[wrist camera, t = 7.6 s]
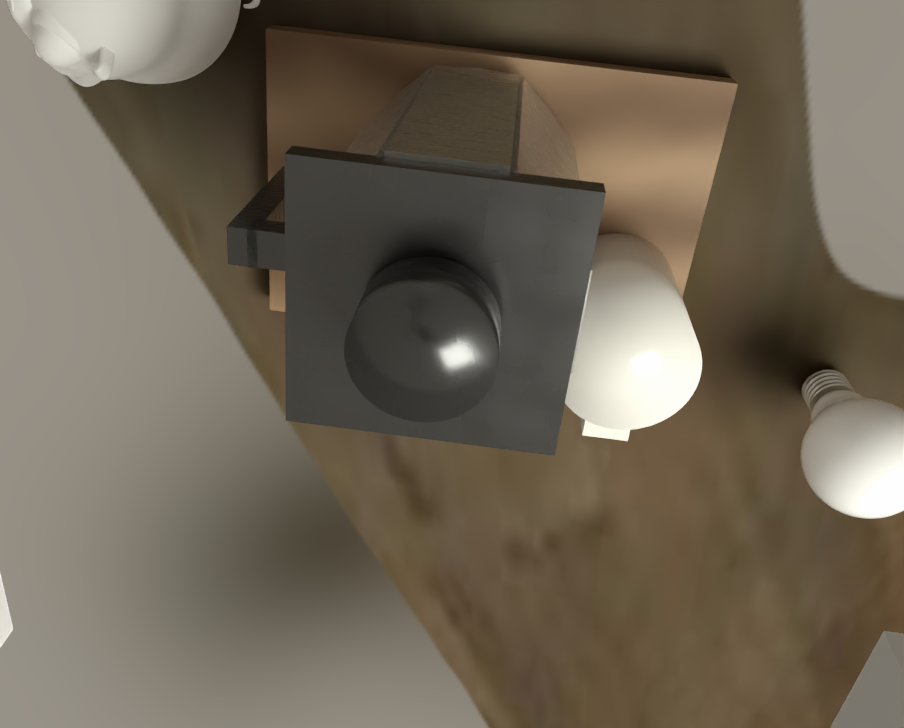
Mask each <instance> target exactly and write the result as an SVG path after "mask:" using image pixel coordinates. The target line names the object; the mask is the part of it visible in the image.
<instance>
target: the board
mask: <svg viewBox="0 0 904 728" xmlns="http://www.w3.org/2000/svg"><path fill="white" fill-rule="evenodd" d="M435 65H442V66H450V67H453V66H464V65H466V66H481V67H486V68H492V69H495V70H498V71H501V72H504V73H510V74H518V75H519V80H521V79H522V78H525V79H526V81H527V82H528V83H529V85H530V86H531V87H532V89H533V90H534V91H535V92H536V93H537V94H538V95H539V96H540V97H541V98H542V99H543V100H544V102H545V103H546V104H547V105H548V106H549V108H550V109H551V111H552V112H553V114H554V116H555V117H556V119H557V121H558V123H559V125H560V126H561V128H562V129H563V131H564V132H565V133H566V135H567V136H568V137H569V139H570V140H571V141H572V143H573V145H574V149H575V156H576V163H577V169H578V176H579V180H580V181H588V182H597V183H604V187H605V191H606V195H605V200H604V205H603V210H602V215H601V220H600V225H599V231H598V236H599V235H604V234H614V233H618V234H628V235H633V236H636V237H639V238H641V239H644V240H646V241H648V242H649V243H651V244H652V245H654V246H655V247H656V248H657V249H658V250H660V251H661V253H662V254H663V255H664V256H665V258H666V259H667V261H668V262H669V264H670V267H671V269H672V272H673V274H674V277H675V280H676V283H677V285H678V288H679V291H680V294H681V296H682V297H683V293H684V289H685V285H686V282H687V278H688V274H689V270H690V266H691V262H692V259H693V255H694V251H695V247H696V243H697V239H698V236H699V232H700V228H701V224H702V220H703V216H704V213H705V209H706V205H707V201H708V197H709V193H710V190H711V186H712V182H713V178H714V174H715V170H716V167H717V163H718V159H719V155H720V151H721V147H722V144H723V140H724V136H725V132H726V128H727V124H728V121H729V117H730V113H731V109H732V105H733V101H734V98H735V94H736V90H737V86H738V83H737V82H735V81H734V80H733V79H732V78H726V77H717V76H709V75H700V74H692V73H683V72H675V71H666V70H658V69H649V68H641V67H632V66H623V65H615V64H606V63H598V62H589V61H581V60H572V59H564V58H555V57H547V56H538V55H529V54H521V53H512V52H504V51H495V50H487V49H478V48H470V47H461V46H453V45H444V44H435V43H427V42H418V41H410V40H401V39H393V38H384V37H376V36H367V35H359V34H350V33H341V32H333V31H324V30H316V29H307V28H299V27H290V26H282V25H272V26H270V27H268V28H266V88H267V151H268V182H269V181H270V180H271V179H272V177H273V176H274V175H275V174H276V173H277V172H278V171H279V170H280V169H281V168H282V167H283V166H284V165H285V160H284V154H285V153H286V152H287V151H288V150H289V149H290V148H291V147H292V146H300V147H308V148H316V149H324V150H333V151H341V152H345V151H346V150H347V149H348V147H349V146H350V145H351V143H352V142H353V141H354V139H355V138H356V137H357V135H358V134H359V133H360V131H361V130H362V129H363V127H364V126H365V125H366V123H367V122H368V121H369V119H370V118H371V117H373V116H374V115H375V114H376V113H377V112H378V111H380V110H381V109H382V108H383V107H384V106H385V105H387V104H388V103H389V102H390V101H391V100H392V99H393V98H394V97H395V96H396V95H397V94H398V93H399V92H400V91H401V90H402V89H403V88H405V87H406V86H407V85H409V84H410V83H411V82H413V81H414V80H416V79H417V78H418V77H419V76H420V75H421V74H423V73H424V72H425V71H426V70H427V69H428V68H430V67H432V68H433V69H434V67H435ZM269 278H270V310H276V311H284V312H285V271H279V270H271V269H269Z"/></svg>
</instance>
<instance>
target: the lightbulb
mask: <svg viewBox="0 0 904 728" xmlns="http://www.w3.org/2000/svg"><path fill="white" fill-rule="evenodd" d="M802 396H803V399H804V400H805V402H806V404H807V406H808V408H809V410H810V412H811V424H810V425H809V427H808V429H807V431H806V433H805V435H804V438H803V441H802V445H801V465H802V470H803V473H804V476H805V478H806V480H807V482H808V484H809V486H810V487H811V489H812V490H813V491H814V493H815V494H816V495H817V496H818V497H819V498H820V499H821V500H822V501H823V502H825V503H826V504H827V505H829V506H830V507H832V508H833V509H835V510H837V511H839V512H841V513H844V514H846V515H849V516H853V517H858V518H867V519H875V518H883V517H888V516H892V515H895V514H897V513H900V512H902V511H904V410H903V409H902V408H900V407H898V406H896V405H894V404H891V403H889V402H886V401H882V400H878V399H871V398H864V397H863V396H861V395H860V394H858V393H855V391H854V390H853V388H852V387H851V385H850V384H849V382H848V380H847V379H846V378H845V376H844V375H843V374H842V373H840V372H838V371H836V370H821V371H818V372H815V373H814V374H812V375H811V376H809V377H808V378H807V379H806V380H805V382H804V384H803V386H802Z"/></svg>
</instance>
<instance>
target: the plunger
mask: <svg viewBox="0 0 904 728" xmlns="http://www.w3.org/2000/svg"><path fill="white" fill-rule="evenodd" d="M500 336H501V315H500V311H499V307H498V304H497V302H496V299H495V297H494V295H493V294H492V292H491V290H490V289H489V288H488V286H487V285H486V284H485V283H484V282H483V281H482V280H481V278H480V277H478V276H477V275H476V274H475V273H473V272H472V271H471V270H469V269H467V268H466V267H464V266H462V265H460V264H458V263H456V262H453V261H450V260H447V259H443V258H437V257H414V258H408V259H405V260H401V261H398V262H396V263H394V264H392V265H390V266H388V267H386V268H385V269H383V270H382V271H381V272H380V273H378V274H377V275H376V276H375V277H374V278H373V279H372V281H371V282H370V283H369V284H368V286H367V287H366V289H365V291H364V293H363V295H362V298H361V300H360V302H359V304H358V307H357V309H356V311H355V314H354V316H353V318H352V321H351V323H350V325H349V327H348V330H347V333H346V337H345V343H344V357H345V363H346V367H347V370H348V373H349V375H350V377H351V379H352V381H353V383H354V384H355V386H356V387H357V389H358V390H359V391H360V392H361V394H362V395H363V396H364V397H365V398H366V399H367V400H368V401H369V402H371V403H372V404H373V405H375V406H376V407H377V408H379V409H380V410H382V411H384V412H386V413H388V414H390V415H392V416H395V417H398V418H401V419H404V420H409V421H414V422H438V421H444V420H448V419H452V418H455V417H457V416H460V415H462V414H464V413H466V412H467V411H469V410H471V409H472V408H473V407H475V406H476V405H477V404H478V403H479V402H480V401H481V400H482V399H483V398H484V397H485V396H486V394H487V393H488V392H489V390H490V388H491V387H492V385H493V383H494V380H495V377H496V374H497V369H498V361H499V348H500Z"/></svg>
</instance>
